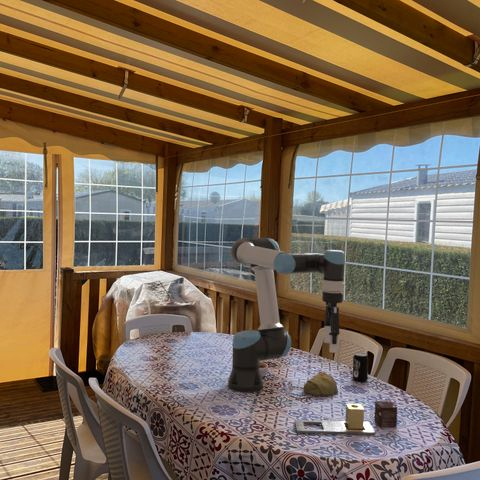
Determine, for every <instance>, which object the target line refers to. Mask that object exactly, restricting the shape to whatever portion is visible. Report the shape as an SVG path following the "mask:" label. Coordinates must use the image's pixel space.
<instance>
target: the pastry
mask: <svg viewBox="0 0 480 480" xmlns="http://www.w3.org/2000/svg"><path fill="white" fill-rule="evenodd" d="M302 389H303V391H304V393H307V394H310V395H313V396H316V397H317V396H318V397H323V396H326V397H328V396H335V395H336V394H338V393H339V390H338V384H337V382H336V380H335V379H334V376H332V375H330V374H328V373H326V372H318V373H317V374H315V375H313V377H311V378H310V379H307V380H306V382H305V383H304V384H303V387H302Z"/></svg>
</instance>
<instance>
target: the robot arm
mask: <svg viewBox="0 0 480 480" xmlns="http://www.w3.org/2000/svg"><path fill="white" fill-rule="evenodd" d="M279 246H280V245H279V243H278V242H277V241H275V239H272V238H271V237H270V238H268V237H244V238H240V239H237V240H235V242H233V244H232V245H231V247H230V254H231V255H230V256H231V258H232V259H233V260H234V262H236V263H239V264H243V265H249V264H250V265H249V266H250V269H251V271H253V272H254V279H255V286H256V296H257V305H258V314H259V322H260V325H259V327H258V328H257V330H255V329H251V330H248V329H247V330H241V331H239V332H236V333H235V334H234V335H233V338H232V344H231V346H232V365H231V366H232V367H231V371H230V374H229V377H228V380H227V388H228V389H229V390H231V391H235V392H240V393H254V392H259V391H261V390H263V388H264V380H263V377H262V374H261V370H260V365H261V364H260V362H261V361H266V360H267V361H269V360H278V359H281V358H284V357H287V355H288V354H289V353H290V351H291V348H292V339H291V335H290V334H289V332H288V331H286V330H285V328H284V325H283V324H281V322H280V315H279V314H280V313H279V307H278V306H279V305H278V304H279V303H278V299H277V298H278V296H277V289H276V282H275V274H274V273H275V271H276V273H278V274H280V275H281V274H282V275H289V274H312V273H313V274H314V273H315V274H322V275H323V276H322V277H323V279H322V290H323V291H322V299H321V300H322V302H324V303H325V311H324V317H323V323H324V324H323V325H324V326H323V327H324V331H323V333H324V334H323V343H325V344H329V349H328V350H329V351H328V352H329V353H335V354H337V353H338V346H339V345H338V344H339V343H338V342H339V335H340V319H339V318H340V316H339V314H340V313H339V311H340V308H339V306H338V305H337V304H341V303H343V300H344V293H343V291H344V286H346V284H345V282H344V277H345V274H344V273H345V264H346V261H345V259H346V258H345V257H346V256H345V252H344V251H343V250H339V249H338V250H337V249H336V250H335V249H326V250H325V251H324V254H323V253H317V252H306V253H289V252H286V251H282V250H280V247H279ZM274 270H275V271H274Z"/></svg>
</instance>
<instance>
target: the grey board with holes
mask: <svg viewBox="0 0 480 480" xmlns="http://www.w3.org/2000/svg"><path fill="white" fill-rule="evenodd" d="M345 423H346V420H343V421H342V420H303V419H299V420H297V419H295V420H294V426H296V427H295V431H296V430H297V431H296V434H297V433H322V434H321V435H338V434H345V435H346V436H351V435H353V436H376V431H375V429H374V427H373V426H372V425H371V423H370V422H369V421H364V425H363V430H347V429H346V427H345ZM304 424H321V425H322V426H321V425H320V426H321V428H322V429H311V428H309V429H308V428H305V425H304ZM345 435H344V436H345Z"/></svg>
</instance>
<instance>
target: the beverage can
mask: <svg viewBox="0 0 480 480" xmlns="http://www.w3.org/2000/svg"><path fill="white" fill-rule="evenodd" d="M368 376H369V357H368V353H366V352H359V351H358V352H354V355H353V357H352V379H353V380H354V381H355V382H357V381H358V383H365V382H367V381H368V378H369V377H368Z"/></svg>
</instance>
